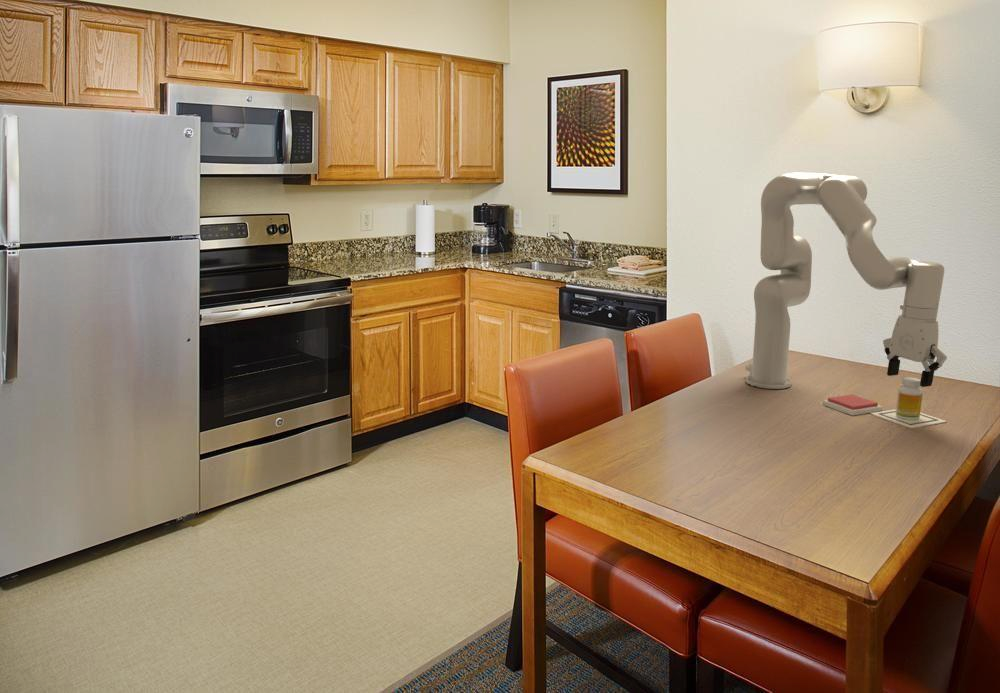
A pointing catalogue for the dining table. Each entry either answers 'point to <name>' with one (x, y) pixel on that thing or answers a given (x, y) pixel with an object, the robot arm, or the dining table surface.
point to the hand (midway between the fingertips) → (908, 380)
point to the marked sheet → (922, 421)
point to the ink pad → (852, 405)
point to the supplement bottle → (909, 399)
